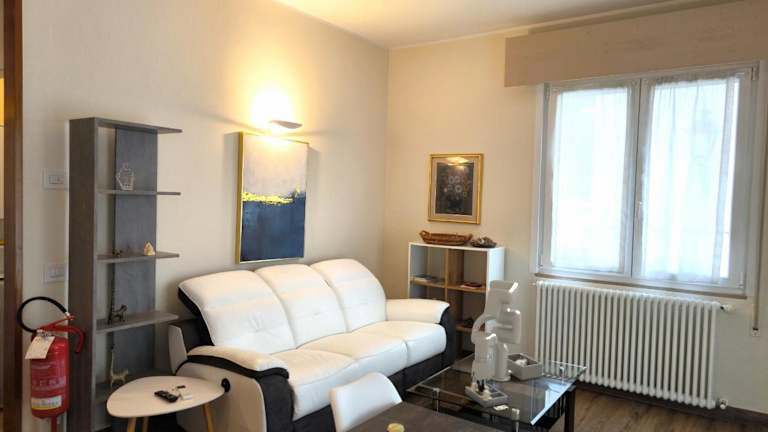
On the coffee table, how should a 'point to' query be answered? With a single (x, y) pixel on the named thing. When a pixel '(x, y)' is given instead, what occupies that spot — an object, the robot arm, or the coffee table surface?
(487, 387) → the tab
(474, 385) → the tab
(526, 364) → the camera
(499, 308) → the robot arm
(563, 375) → the coffee table surface
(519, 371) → the grey open bin
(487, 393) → the tab
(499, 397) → the grey shallow tray
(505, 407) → the label card
